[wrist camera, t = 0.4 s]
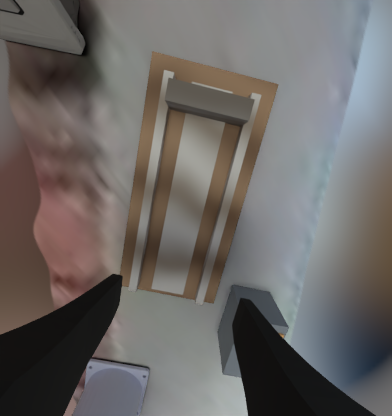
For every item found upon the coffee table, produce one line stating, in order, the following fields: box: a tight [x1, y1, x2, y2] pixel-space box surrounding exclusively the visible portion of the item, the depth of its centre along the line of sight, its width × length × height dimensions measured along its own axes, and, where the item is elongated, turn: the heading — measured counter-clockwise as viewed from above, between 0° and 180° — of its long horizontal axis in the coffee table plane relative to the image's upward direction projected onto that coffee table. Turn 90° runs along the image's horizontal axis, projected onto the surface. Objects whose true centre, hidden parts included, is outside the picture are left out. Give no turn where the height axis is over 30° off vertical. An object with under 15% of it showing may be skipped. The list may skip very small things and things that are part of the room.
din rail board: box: [120, 51, 278, 305], centre depth 18 cm, size 23×11×4 cm, turn 167°
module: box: [218, 285, 289, 377], centre depth 21 cm, size 7×4×5 cm, turn 167°
